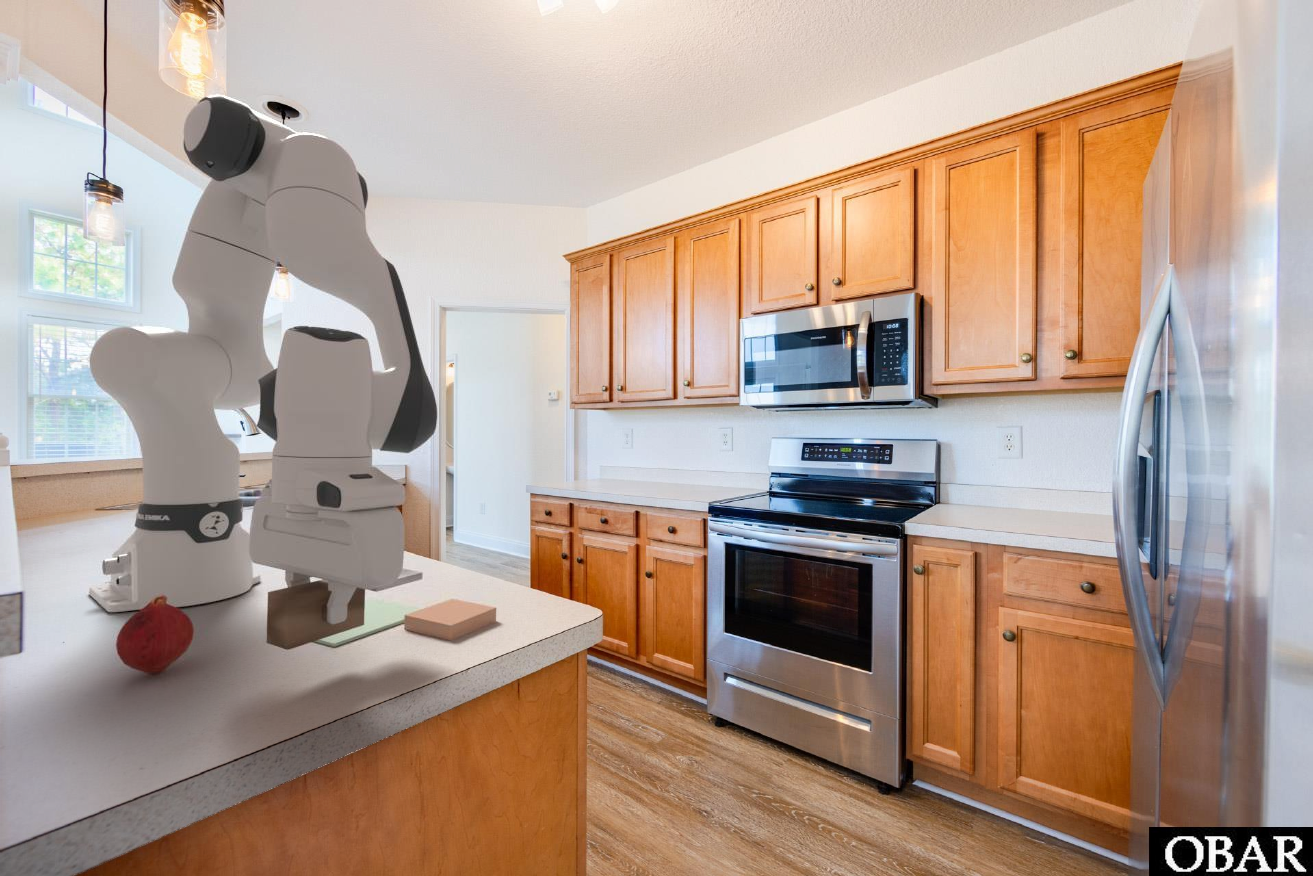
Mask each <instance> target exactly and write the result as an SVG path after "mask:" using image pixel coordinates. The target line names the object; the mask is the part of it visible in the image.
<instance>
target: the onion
mask: <svg viewBox="0 0 1313 876" xmlns="http://www.w3.org/2000/svg"><path fill="white" fill-rule="evenodd" d="M166 600H167V597H166V596H164V595H158V596H156V597H155V598H153V599H152V600H151V602H150V603H149V604H148V605H147V606H145V607H144V608H143V609H139V610H138V611H137V612H136V613H134V614H133V615H132V616H131V617H130V618H129V619H128V620H127V621H126V622H125V623H124V625H122V627H121V629H120V631H119V632H118V635H117V638H116V642H115V643H116V644H115V648H116V652H117V656H118V657H119V659H120V660H121V662H122V663H123V664H124V665H125V666H127V667H129V668H131V669H133V670H136V671H139V672H141V673H146V674H149V675H158V674H162V673H163V672H164V671H166V670H167V668H168V667H169V666H170V665H172V664H173V663H174V662H176V660H178V659H179V658H180V657H181V656H182V655H184V653H186V651H188V648H189V647H190V646H191V644H192V641H193V640H194V639H193V638H194V633H195V629H194V625H193V622H192V620H191V619H190V617H189V616H188V614H186V613H185V612H184V611H183V610H182V609H179V607H174V606H171V605H169V604H166Z"/></svg>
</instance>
